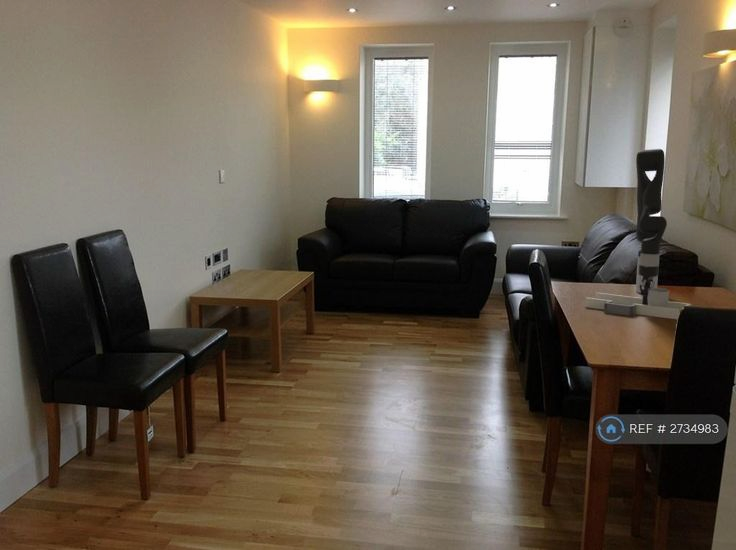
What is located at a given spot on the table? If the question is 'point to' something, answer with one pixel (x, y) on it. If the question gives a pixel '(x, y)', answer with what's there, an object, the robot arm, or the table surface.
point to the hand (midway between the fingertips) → (645, 304)
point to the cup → (658, 297)
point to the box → (633, 306)
